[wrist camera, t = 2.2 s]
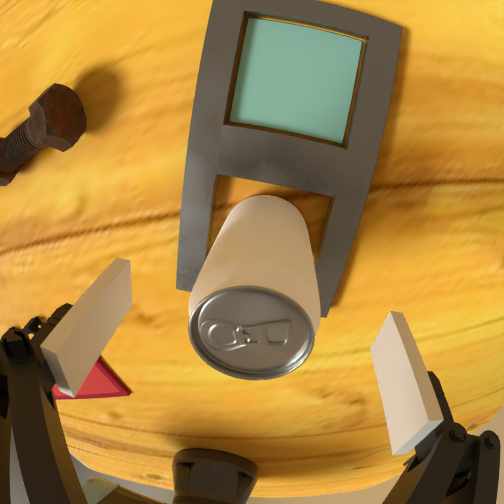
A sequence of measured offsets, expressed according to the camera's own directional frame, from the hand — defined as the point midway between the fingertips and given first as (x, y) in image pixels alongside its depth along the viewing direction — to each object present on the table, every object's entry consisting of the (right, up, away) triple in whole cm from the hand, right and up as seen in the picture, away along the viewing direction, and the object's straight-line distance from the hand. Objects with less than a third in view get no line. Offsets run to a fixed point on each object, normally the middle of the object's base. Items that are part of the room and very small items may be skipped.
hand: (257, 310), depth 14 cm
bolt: (-21, +13, +8) cm, 26 cm away
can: (+1, +4, +9) cm, 10 cm away
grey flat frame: (+2, +10, +6) cm, 12 cm away
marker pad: (+3, +15, +4) cm, 15 cm away
